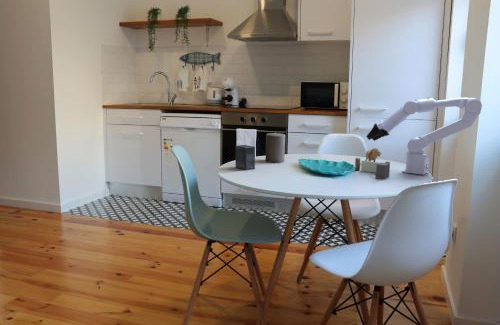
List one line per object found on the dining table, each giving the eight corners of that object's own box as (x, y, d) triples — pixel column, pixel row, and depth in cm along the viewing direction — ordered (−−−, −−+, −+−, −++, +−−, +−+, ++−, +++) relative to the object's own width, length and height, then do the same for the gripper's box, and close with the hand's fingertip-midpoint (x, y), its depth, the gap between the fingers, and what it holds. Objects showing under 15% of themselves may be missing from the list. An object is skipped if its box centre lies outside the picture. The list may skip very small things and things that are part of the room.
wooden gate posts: (390, 174, 209) (390, 161, 208) (388, 174, 207) (389, 162, 206) (356, 169, 219) (356, 157, 217) (354, 170, 217) (354, 158, 216)
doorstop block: (389, 177, 203) (389, 163, 202) (384, 179, 199) (385, 165, 198) (380, 176, 205) (380, 162, 204) (375, 178, 201) (376, 164, 200)
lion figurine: (381, 167, 224) (382, 148, 223) (371, 167, 224) (372, 148, 222) (369, 161, 239) (370, 144, 237) (359, 161, 238) (360, 144, 236)
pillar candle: (263, 162, 234) (263, 132, 231) (268, 158, 243) (268, 130, 240) (282, 163, 231) (283, 133, 229) (286, 160, 241) (287, 131, 238)
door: (383, 172, 210) (383, 163, 210) (381, 173, 209) (381, 163, 208) (361, 170, 216) (362, 160, 215) (360, 170, 215) (360, 161, 214)
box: (255, 169, 218) (255, 146, 216) (245, 170, 214) (245, 147, 212) (244, 166, 224) (244, 144, 222) (235, 167, 220) (235, 145, 218)
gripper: (392, 115, 221) (370, 133, 226) (384, 111, 208) (360, 130, 214) (402, 126, 219) (378, 144, 224) (393, 124, 206) (369, 143, 212)
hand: (370, 138), depth 219 cm, fingers open, 7 cm apart
